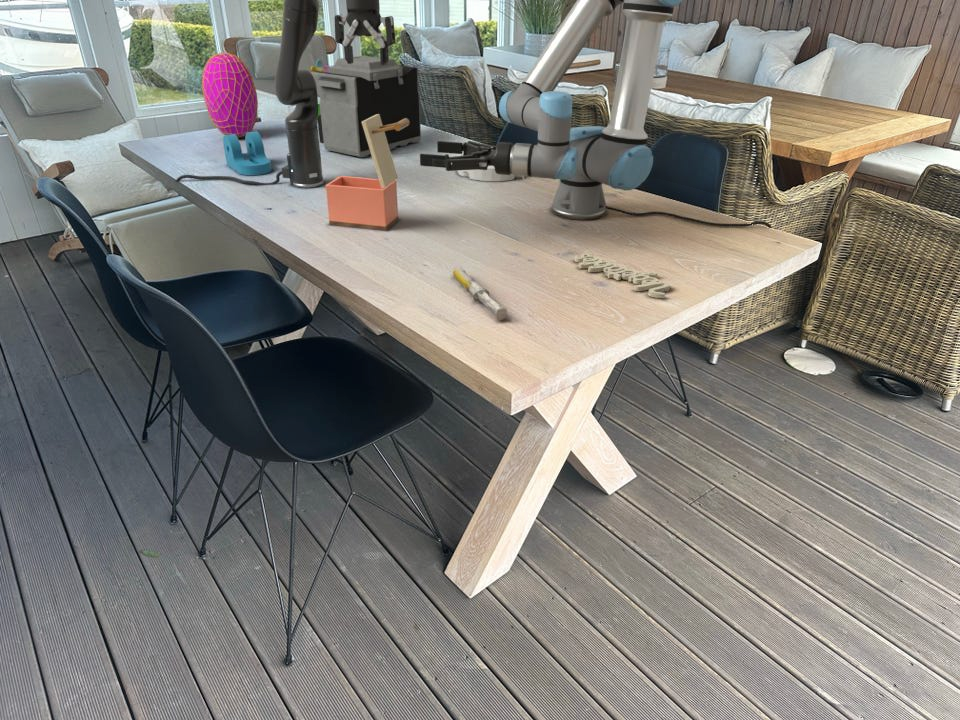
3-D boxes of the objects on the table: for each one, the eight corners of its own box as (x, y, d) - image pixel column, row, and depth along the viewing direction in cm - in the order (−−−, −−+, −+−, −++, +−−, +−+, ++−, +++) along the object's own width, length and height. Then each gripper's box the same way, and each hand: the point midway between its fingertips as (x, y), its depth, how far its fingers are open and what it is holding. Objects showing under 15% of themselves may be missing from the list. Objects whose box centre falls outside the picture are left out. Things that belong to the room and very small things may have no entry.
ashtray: (459, 161, 239) (459, 150, 237) (525, 163, 239) (526, 151, 237) (455, 180, 219) (455, 167, 217) (527, 181, 219) (528, 169, 217)
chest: (329, 224, 183) (325, 185, 177) (343, 214, 190) (340, 175, 185) (386, 230, 179) (383, 190, 174) (398, 219, 187) (396, 180, 181)
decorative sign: (686, 282, 150) (660, 295, 144) (686, 286, 150) (659, 300, 144) (592, 249, 166) (565, 259, 160) (592, 253, 167) (565, 263, 161)
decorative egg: (227, 145, 256) (212, 58, 241) (201, 136, 267) (185, 53, 252) (272, 137, 268) (260, 53, 253) (245, 129, 280) (233, 49, 264)
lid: (361, 121, 166) (395, 114, 163) (375, 114, 174) (408, 107, 171) (381, 188, 174) (414, 182, 171) (394, 178, 181) (425, 172, 178)
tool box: (383, 133, 276) (378, 52, 261) (425, 141, 265) (422, 56, 250) (314, 150, 251) (304, 61, 235) (358, 160, 240) (350, 67, 224)
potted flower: (317, 124, 290) (310, 59, 277) (312, 120, 296) (305, 57, 283) (338, 122, 294) (333, 58, 281) (333, 118, 300) (327, 56, 287)
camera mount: (227, 164, 233) (221, 132, 227) (257, 160, 238) (252, 129, 233) (244, 176, 220) (239, 143, 215) (276, 172, 225) (271, 139, 220)
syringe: (449, 274, 155) (449, 263, 153) (465, 272, 156) (464, 260, 154) (490, 323, 135) (491, 310, 133) (508, 319, 136) (508, 307, 134)
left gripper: (397, -13, 157) (400, 63, 166) (339, -15, 160) (345, 60, 169) (385, -12, 151) (389, 67, 159) (325, -14, 154) (332, 64, 162)
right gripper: (500, 189, 158) (413, 181, 162) (522, 162, 179) (444, 156, 183) (501, 156, 154) (412, 149, 158) (523, 132, 175) (444, 127, 179)
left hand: (366, 64), depth 164 cm, fingers open, 8 cm apart
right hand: (429, 152), depth 171 cm, fingers open, 13 cm apart
